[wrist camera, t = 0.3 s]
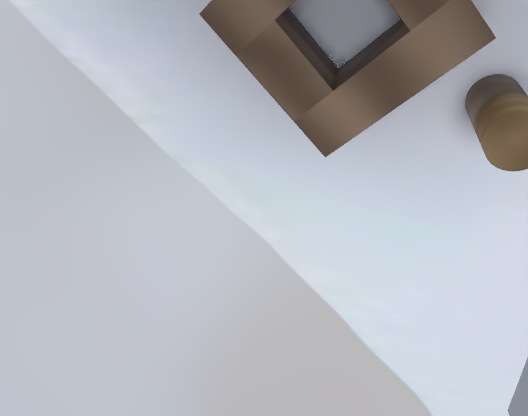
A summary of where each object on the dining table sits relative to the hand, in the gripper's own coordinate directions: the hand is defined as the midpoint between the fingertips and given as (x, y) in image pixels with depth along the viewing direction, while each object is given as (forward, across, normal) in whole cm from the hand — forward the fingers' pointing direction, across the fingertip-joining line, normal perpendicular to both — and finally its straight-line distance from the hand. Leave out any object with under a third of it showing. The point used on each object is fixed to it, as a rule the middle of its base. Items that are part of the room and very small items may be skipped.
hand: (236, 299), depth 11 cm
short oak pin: (+26, +11, +3) cm, 28 cm away
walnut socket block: (+25, 0, +7) cm, 26 cm away
